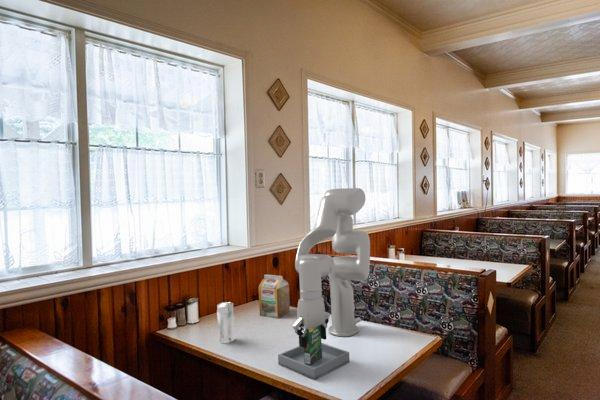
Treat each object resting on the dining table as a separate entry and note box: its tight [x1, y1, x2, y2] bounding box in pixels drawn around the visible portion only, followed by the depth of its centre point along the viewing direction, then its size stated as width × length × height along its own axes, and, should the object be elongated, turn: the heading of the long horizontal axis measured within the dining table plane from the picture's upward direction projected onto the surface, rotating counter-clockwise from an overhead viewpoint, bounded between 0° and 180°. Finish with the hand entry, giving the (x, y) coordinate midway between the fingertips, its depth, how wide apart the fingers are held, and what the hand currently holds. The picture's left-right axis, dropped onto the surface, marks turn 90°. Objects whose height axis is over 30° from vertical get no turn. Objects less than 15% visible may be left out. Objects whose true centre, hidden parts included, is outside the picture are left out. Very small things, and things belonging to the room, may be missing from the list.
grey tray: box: [277, 342, 351, 381], centre depth 144 cm, size 18×18×4 cm
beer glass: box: [216, 301, 236, 344], centre depth 169 cm, size 7×7×15 cm
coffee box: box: [302, 325, 322, 366], centre depth 144 cm, size 8×3×13 cm, turn 146°
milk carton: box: [258, 274, 291, 319], centre depth 201 cm, size 11×11×19 cm
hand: (313, 342), depth 144 cm, fingers open, 9 cm apart
